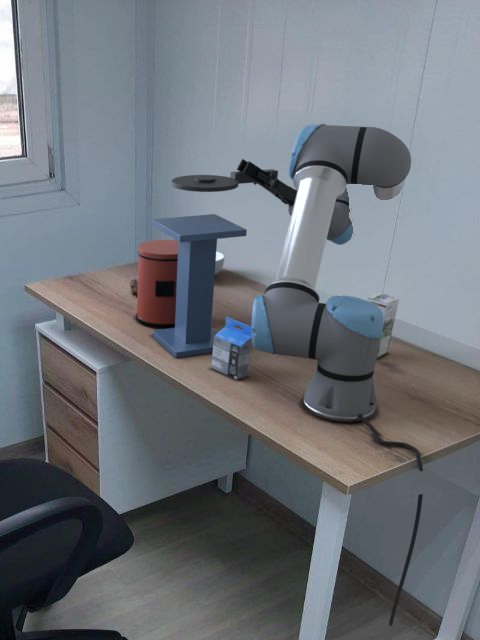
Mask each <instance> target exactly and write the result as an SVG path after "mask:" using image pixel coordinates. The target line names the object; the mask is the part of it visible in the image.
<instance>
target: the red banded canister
mask: <svg viewBox="0 0 480 640" xmlns="http://www.w3.org/2000/svg"><path fill="white" fill-rule="evenodd" d="M177 265H178V241H177V240H175V239H153V240H147V241H144V242H141V243H140V244H138V245H137V277H138V296H136V297H137V301H136V302H137V305H136V306H137V307H136V309H137V311H136V313H135V320H136V321H137V323H139V324H140V325H142V326H145V327H148V328H154V329H160V330H161V329H168V328H175V313H176V289H177Z"/></svg>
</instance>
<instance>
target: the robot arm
mask: <svg viewBox="0 0 480 640" xmlns="http://www.w3.org/2000/svg"><path fill="white" fill-rule="evenodd" d="M411 155H412V154H411V152H410V150H409V148H408V147H407V145H406V144H405V143H404V142H403V141H402V140H401V139H400V138H399V137H398V136H397V135H395V134H393V133H392V132H389V130H388V131H387V130H385V129H384V128H379V127H375V126H359V125H358V126H357V125H356V126H355V125H331V124H326V123H320V124H308V125H305V126H304V127H303V128H301V129H300V131H299V133H298V134H297V136H296V139H295V141H294V144H293V146H292V150H291V156H290V160H289V164H288V165H289V166H288V174H289V178H290V180H292V184H293V187H292V186H290V185H288V184H286V183H284V182H283V181H282V180H281V179H279V178H278V177H277V178H274V177H273V176H274V175H275V174H274V173H271V174H270V175H269V174H268V173H266V172H265V171H263V170H264V169H262V168H261V167H259V166H257V165H256V164H254V163H253V162H251V161H249V160H248V161H246V160H245V159H244V158H242V159H241V161H240V162H239V164H238V166H237V168H236V171H237V172H239V171H243V172H244V173H246V174H247V175H249V176H250V177H252V178H253V179H255V180H256V181H258V182H255V183H252V184H253V185H254V186H256V185H259V186H260V187H262V188H263V189H265V190H266V191H268V192H269V193H270V194H272V195H273V196H274V197H275V198H277V199H278V200H280V202H281V203H283V204H284V205H288V207H287V208H288V214H289V216H290V220H289V224H288V228H287V231H286V236H285V240H284V243H283V248H282V252H281V256H280V260H279V264H278V268H277V272H276V274H275V280H274V281H273V282H271V283H269V284H268V285H266V287H265V291H264V294H259V295H256V296H255V297H254V299H253V302H252V303H253V304H252V310H251V311H252V312H251V332H252V338H251V344H252V346H253V348H254V349H255V350H256V351H258V352H261V353H266V354H267V353H268V354H271V355H278V356H287V357H295V358H301V359H309V360H316V361H317V365H316V371H315V372H314V375H313V377H312V379H311V380H310V382H309V384H308V386H307V389H306V390H305V392H304V395H303V399H302V405H303V407H304V409H305V410H306V411H307V412H308V413H310V414H311V415H312V416H315V417H317V418H320V419H322V420H325V421H330V422H336V423H345V424H346V423H349V424H350V423H358V422H363V423H364V424H365V425H366V427H368V429H369V430H371V432H372V433H373V437H374V440H375V442H377V443H378V444H380V445H383V446H384V445H385V446H393V447H403V448H407V449H409V450H410V451H412V452H414V454H415V457H416V464H417V469H418V471H419V472H424V468H423V464H422V463H423V462H422V457H421V453H420V451H419V449H418V448H416V447H415V446H413V445H411V444H409V443H406V442H403V441H387V440H383V439H381V438H379V433H378V430H377V429H376V428H375V427H374V426H373V425H372V423H370V421H368V420H369V419H371V418H372V417H373V416H374V415H375V413H376V409H377V396H376V390H375V384H374V372H375V368H376V364H377V359H378V358H377V353H378V347H379V342H380V337H382V334H383V331H382V327H383V320H384V316H383V313H382V311H381V310H380V309H379V308H378V307H377V306H376V305H374V304H372V303H370V302H368V301H367V299H363V298H359V297H355V296H350V295H333V296H331V297H329V298H328V299H327V300H326V302H325V303H324V302H320V293H318V292H317V290H316V285H317V280H318V277H319V276H318V275H319V272H320V268H321V263H322V259H323V255H324V251H325V247H326V244H327V243H326V242H327V241H330V242H332V243H333V244H335V245H338V246H343V245H345V244H347V243H349V241H350V240H351V239H352V238H353V237H352V234H353V226H352V222H351V220H350V218H351V217H350V218H349V212H350V209H349V197H348V192H347V188H346V185H347V184H362V185H373V189H374V193H375V195H376V197H377V198H378V199H380V200H389V199H392V198H394V197H395V196H397V195H398V194H399V193H400V191H401V190H402V188H403V186H404V183H405V180H406V178H407V177H408V175H409V173H410V170H411V166H412V156H411ZM268 175H269V177H268ZM350 213H351V212H350ZM351 237H352V238H351ZM376 358H377V359H376ZM417 497H418V498H417V504H416V511H415V518H414V519H415V520H414V523H413V524H414V525H413V529H412V535H411V538H410V543H409V547H408V551H407V556H406V559H405V563H404V566H403V569H402V573H401V577H400V581H399V584H398V587H397V591H396V594H395V598H394V602H393V605H392V610H391V613H390V617H389V620H388V621H389V622H388V626H393V624H394V622H395V621H394V620H395V617H396V612H397V609H398V605H399V601H400V598H401V594H402V590H403V587H404V585H405V581H406V577H407V573H408V569H409V567H410V563H411V559H412V555H413V553H414V552H413V551H414V548H415V544H416V540H417V535H418V530H419V526H420V525H419V524H420V520H421V513H422V505H423V497H424V494H423V493H419V494H418V495H417Z"/></svg>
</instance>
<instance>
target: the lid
mask: <svg viewBox="0 0 480 640" xmlns="http://www.w3.org/2000/svg"><path fill="white" fill-rule="evenodd" d="M262 170H263V171H265V172H266V173H268V174H269V175H270V174H271V173H274V174H275V175H274V176H273V177H274V178H278V176H279V170H278V169H277V170H276V169H273V168H270V169H262ZM269 175H268V177H269ZM255 182H258V181H256V180H255V179H253V178H252V177H250V176H249V175H247V174H246V173H244V172H243V171H230V175H229V176H225V175H216V174H215V175H214V174H188V175H182V176H178V177H177V176H176V177H174V178H172V180H171V186H172V188H175V189H178V190H181V191H187V192H195V193H197V192H198V193H217V192H218V193H219V192H227V191H232V190H235V189H237V188H239V185H240V184H241V185H242V184H253V183H255Z"/></svg>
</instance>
